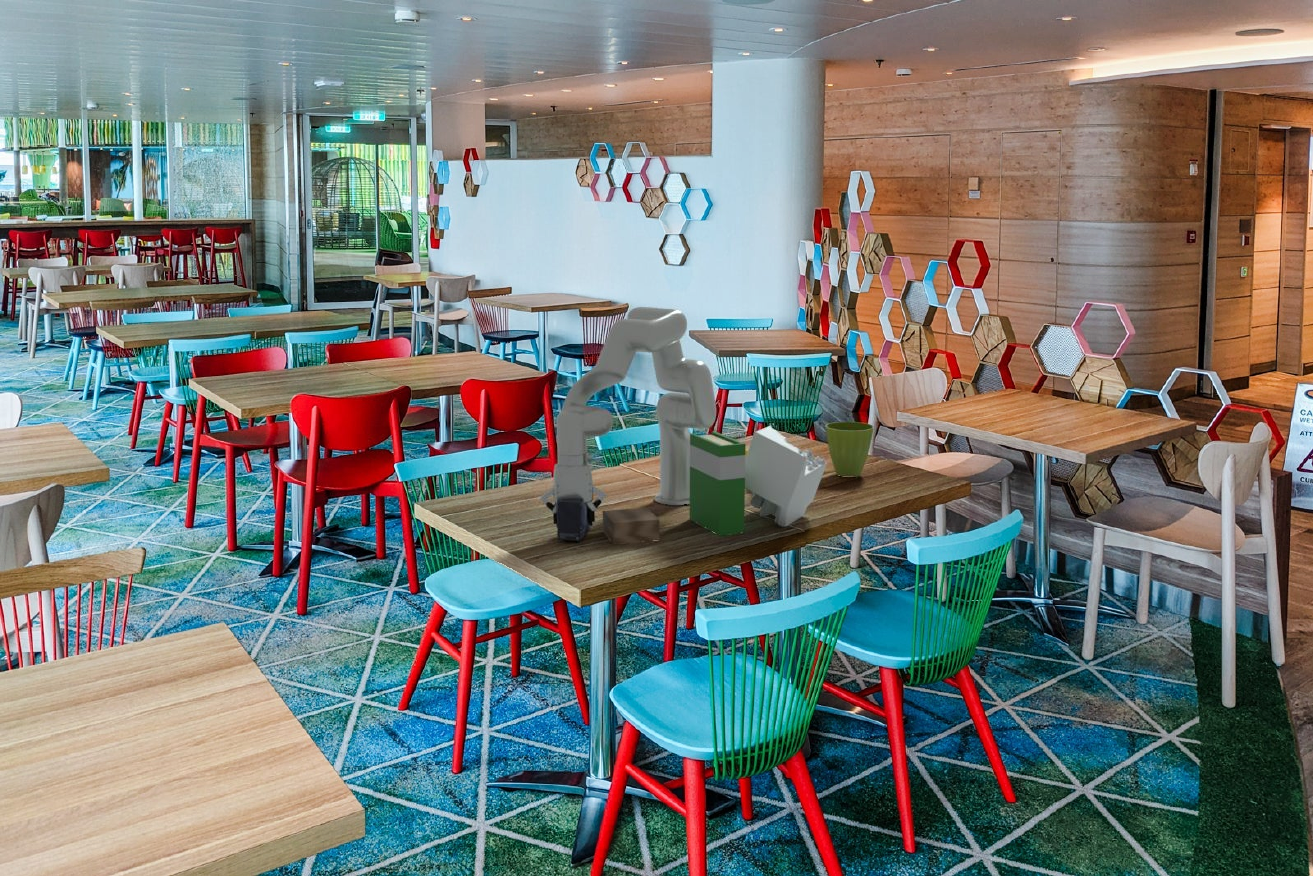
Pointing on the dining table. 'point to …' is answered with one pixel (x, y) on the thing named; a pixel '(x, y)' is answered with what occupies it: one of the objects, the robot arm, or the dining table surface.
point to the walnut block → (630, 525)
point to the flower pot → (849, 446)
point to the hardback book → (717, 483)
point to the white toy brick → (781, 476)
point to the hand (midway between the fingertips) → (574, 525)
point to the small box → (572, 519)
